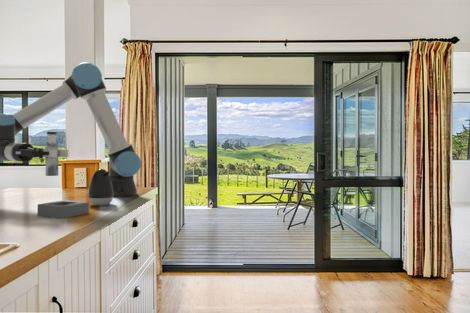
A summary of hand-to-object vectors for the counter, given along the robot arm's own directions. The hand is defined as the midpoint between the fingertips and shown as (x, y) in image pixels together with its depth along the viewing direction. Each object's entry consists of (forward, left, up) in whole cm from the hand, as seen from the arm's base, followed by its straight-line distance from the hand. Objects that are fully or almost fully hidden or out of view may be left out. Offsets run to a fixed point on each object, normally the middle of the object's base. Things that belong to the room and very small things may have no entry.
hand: (61, 153), depth 141 cm
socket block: (+4, +5, -22) cm, 23 cm away
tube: (0, -5, -8) cm, 10 cm away
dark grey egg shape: (-18, +2, -22) cm, 29 cm away
